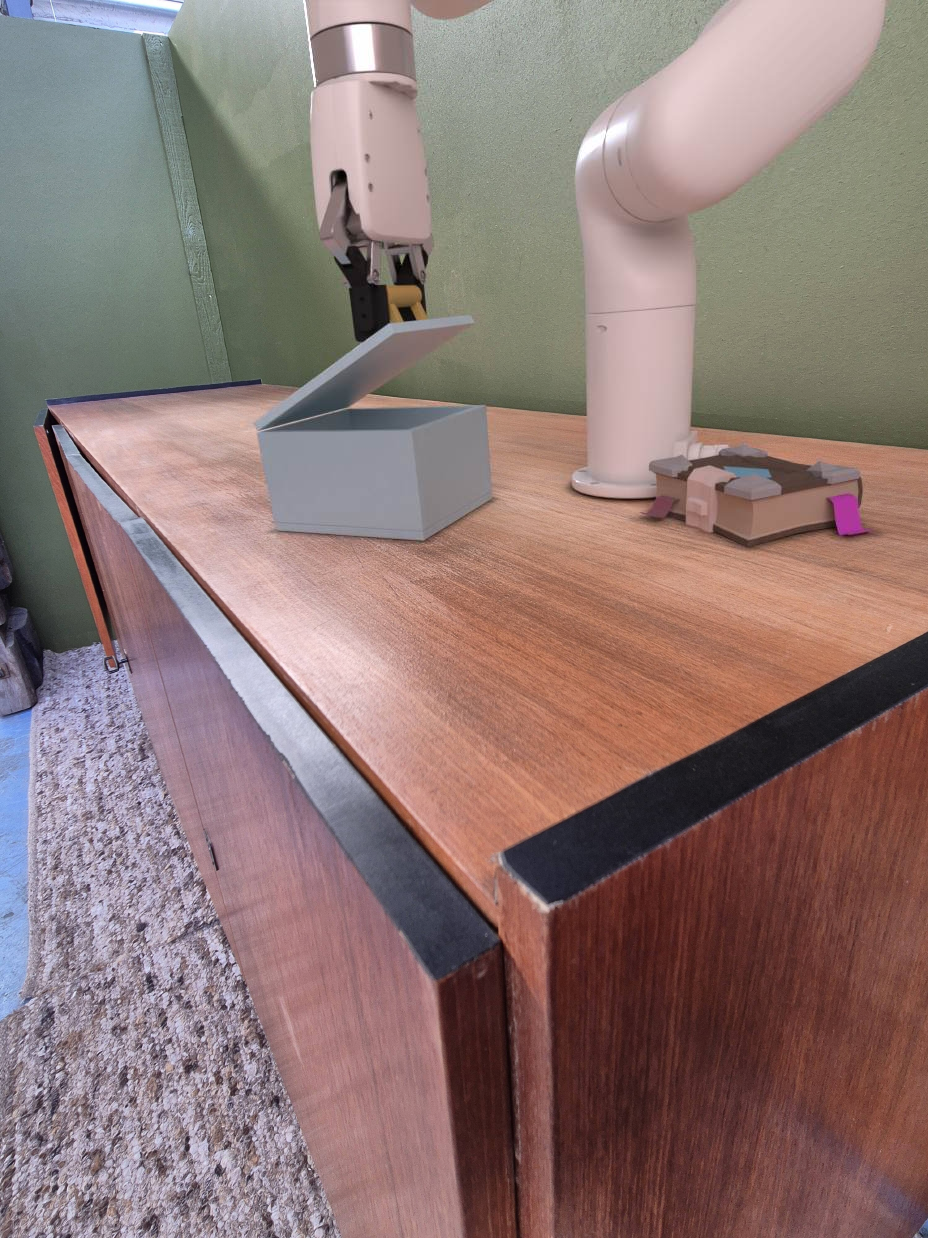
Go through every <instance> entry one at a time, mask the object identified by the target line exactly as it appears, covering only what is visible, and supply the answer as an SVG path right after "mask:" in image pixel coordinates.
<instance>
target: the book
mask: <svg viewBox="0 0 928 1238" xmlns="http://www.w3.org/2000/svg"><path fill="white" fill-rule="evenodd" d="M729 447H730V448H724V449H721V450H720V451H719V453H718V455H716V456H711V457H706V458H701V459H695V460H687V459H686V458H685V457H684V456H683V455H680V456H677V457H672V458H666V459H660V460H654V461H651V462H650V463H649V471H652V472H653V473H655V474H656V481H657V495H656V497H655V500H654V502H653V504H652V506H651V508H650V509H649V510H648V512H645V511H640V512H639V511H638V513H639V514H642V515H645V516H649V517H654V518H661V519H662V518H665V517H668V518H671V519H675V520H680V521H684V522H685V525H687V526H691V527H695V528H698V529H701V530H703V531H704V532H706V533H714V532H716V533H717V534H719V535H722V536H723V537H726V538H727V539H730V540H732V541H734V542H736V543H738V544H741V545H742V546H744V547H747V548H751V547H753V546H757V545H760V544H764V543H768V542H772V541H774V540H778V539H782V538H786V537H788V536H792V535H796V534H800V533H805V532H812V531H817V530H824V529H828V528H835V527H836V530H837V533H838V535H839V536H841V537H843V536H851V535H852V536H853V535H856V534H862V533H866V532H872V531H874V530H873V529H870V528H868V529H863V524H862V522H861V517H860V507H861V505H862V500H863V492H864V488H863V479H862V477H861V471H860V469H859V468H858V467H854V466H847V465H846V466H845V465H838V464H830V463H827V462H825V461H823V460H819V461H817V462H816V463H814V464H813V465H810V464H805V463H798V462H793V461H789V460H786V459H781V458H778V457H774V456H770V455H768V452H767V451H766V450H765V449H761V448H757V447H753V446H749V445H748V444H744V443H742V444H739V445H736V446H729Z"/></svg>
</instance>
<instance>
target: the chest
mask: <svg viewBox="0 0 928 1238" xmlns="http://www.w3.org/2000/svg"><path fill="white" fill-rule="evenodd" d="M487 412H488V411H487V404H470V405H469V404H468V405H431V406H430V405H429V406H394V407H392V406H391V407H390V406H389V407H355V408H354V407H353V408H350V407H348V408H344V409H341V410H337V411H333V412H329V413H325V414H322V415H318V416H314V417H310V418H306V419H302V420H299V421H295V422H291V423H287V424H283V425H279V426H276V427H272V428H268V429H264V430H260V431H257V432H256V436H257V437H256V438H257V441H258V447H259V451H260V456H261V457H260V458H261V462H262V467H263V471H264V478H265V482H266V488H267V492H268V493H267V494H268V497H269V504H270V507H271V514H272V518H273V522H274V528H275V531H279V532H293V533H306V534H307V533H308V534H321V535H337V536H350V537H365V538H379V539H392V540H406V541H420V542H421V541H422V542H424V541H426V540H428V539H429V538H430V537H433V536H434V535H435V534H437V533H439V532H441V531H442V530H444V529H445V528H448V526H450V525H452V524H454V523H456V522H457V521H458V520H460V519H462V518H463V517H465V516H466V515H468V514H470V513H472V512H473V511H474V510H476V509H478V508H480V507H481V506H483V505H485V504H486V503H488V502H489V501H491V500H492V499H493V484H492V472H491V470H492V469H491V457H490V442H489V425H488V413H487Z"/></svg>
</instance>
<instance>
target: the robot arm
mask: <svg viewBox="0 0 928 1238" xmlns="http://www.w3.org/2000/svg"><path fill="white" fill-rule="evenodd" d="M493 1H495V0H303V6H304V13H305V20H306V26H307V36H308V44H309V52H310V61H311V68H312V75H313V83H314V89H313V90H312V91H311V100H310V119H309V120H310V123H309V124H310V125H309V127H310V130H309V131H310V155H311V170H312V171H311V172H312V183H313V192H314V194H313V195H314V203H315V211H316V212H315V213H316V219H317V226H318V232H319V233H318V234H319V235H318V236H319V239H320V241H321V242H322V244H323V245H324V246H325V247H326V249H327V250H328V252H329V253H330V254H331V256H332V257H333V258H334V262H335V264H336V265H337V267H338V268H339V270H340V271H341V272H342V283H343V285H344V286H345V288H347V289H348V293H349V303H350V310H351V311H350V312H351V318H352V319H351V320H352V325H353V335H354V339H355V341H356V342H358V343H363V342H364V341H366V340H367V339H368V338H370V337H371V336H372V335H374V334H375V333H377V332H378V331H379V330H381V329H382V328H383V327H385V326H386V325H387V324H389V323H391V320H390V316H389V307H388V297H387V288H386V286H387V284H380V283H381V278H382V277H381V274H382V252H383V251H382V250H384V252H385V257H386V261H387V264H388V268H389V272H390V277H391V280H392V285H393V286H402V285H415V286H417V287H418V288H419V289H420V290H421V293H422V299H421V302H420V303H421V305H422V307H423V309H424V311H425V313H426V315H427V316H428V314H427V313H428V311H427V302H426V301H427V300H426V291H425V290H426V289H425V284H426V283H427V279H428V278H427V277H428V276H427V270H426V269H427V266H428V263H429V257H430V255H431V253H432V251H433V249H434V246H435V239H434V235H433V234H432V212H431V197H430V188H429V179H428V170H427V162H426V156H425V149H424V143H423V136H422V129H421V124H420V118H419V114H418V109H417V104H416V101H415V99H416V98H417V97H418V93H419V92H418V83H417V82H418V81H417V71H416V69H417V68H416V58H415V57H416V56H415V45H414V32H413V21H412V20H413V19H412V9H411V6H412V7H413V8H415V10H417V11H418V12H419V13H421V14H422V15H424V16H426V17H428V18H432V19H434V20H441V21H447V20H449V21H450V20H455V19H458V18H461V17H464V16H467V15H469V14H471V13H473V12H475V11H477V10H479V9H481V8H482V7H484V6H486V5H488V4H490V3H492V2H493ZM889 2H890V0H728V1H726V2H725V3H724V4H723V5H722V6H721V7H720V8H719V9H718V10H717V12H715V14H714V15H713V16H712V18H710V19H709V21H708V22H707V23H706V24H705V26H704V27H703V29H702V30H701V32H700V34H699V35H698V37H697V38H696V40H695V42H694V43H692V44H691V45H690V46H689V47H688V48H687V49H686V50H685V51H683V52H682V53H681V54H680V55H679V56H678V57H677V58H675V59H674V60H672V61H670V63H669V64H668V65H666V66H665V67H664V68H662V69H661V70H659V71H658V72H656V73H655V74H654V75H652V76H651V77H648V79H646V80H645V81H643V82H642V83H640V84H638V85H637V86H635V87H634V88H632V89H631V90H629V91H627V92H626V93H625V94H623V95H622V96H621V97H619V98H618V99H616V100H615V101H614V102H612V103H611V104H610V105H608V106H607V107H606V108H605V109H604V110H603V111H602V112H601V113H600V114H599V115H598V116H597V117H596V119H594V121H593V123H591V125H590V127H589V128H588V130H587V132H586V134H585V135H584V137H583V140H582V141H581V144H580V148H579V150H578V154H577V158H576V162H575V168H574V196H575V204H576V212H577V217H578V218H577V219H578V225H579V231H580V237H581V238H580V239H581V246H582V247H581V248H582V256H583V272H584V273H583V274H584V303H585V304H584V309H585V314H584V320H585V321H584V323H585V324H584V325H585V326H584V327H585V328H584V329H585V330H584V332H585V381H586V382H585V386H586V387H585V388H586V389H585V390H586V393H585V394H586V452H587V454H586V455H587V456H586V457H587V465H586V466H583V467H581V468H579V469H578V468H577V470H575V471H574V472H573V473H572V475H571V487H572V488H573V489H574V490H575V491H577V492H579V493H581V494H585V495H588V496H593V497H598V498H606V499H607V498H608V499H623V500H624V499H628V500H629V499H630V500H631V499H633V500H634V499H635V500H637V499H652V498H656V495H657V481H656V474H655V473H653V472H652V471H649V463H650V462H651V461H654V460H660V459H666V458H672V457H677V456H680V455H683V456H684V457H685V458H686V459H687V460H695V459H701V458H706V457H711V456H716V455H718V453H719V451H720V450H721V449H724V448H730V447H731V446H730V445H729V444H714V445H711V444H710V445H709V444H706V445H704V444H703V442H702V441H701V442H700V441H699V431H698V430H691V425H692V402H693V401H692V399H693V378H694V377H693V375H694V373H693V372H694V352H695V351H694V350H695V327H696V326H695V325H696V305H697V287H698V286H697V285H698V284H697V281H698V277H697V261H696V260H697V259H696V251H695V246H694V242H693V237H692V236H693V235H692V232H691V229H690V223H689V218H688V215H690V214H694V213H697V212H699V211H703V210H706V209H708V208H711V207H712V206H716V205H717V204H719V203H721V202H722V201H724V200H725V199H727V198H729V197H730V196H731V195H733V194H734V193H737V191H738V190H739V189H741V188H742V187H743V186H744V185H746V184H747V183H748V182H750V181H751V180H753V178H754V177H756V175H758V174H760V172H761V171H762V170H763V169H764V168H767V166H768V165H769V164H770V163H772V162H773V161H774V160H775V159H776V158H778V156H780V155H781V154H782V153H783V152H784V151H785V150H787V148H789V147H790V146H791V145H792V144H793V143H795V142H796V140H797V139H798V138H800V137H801V136H802V135H803V134H804V133H805V132H806V131H808V130H809V129H810V128H811V127H812V126H813V125H814V124H815V123H817V121H819V120H820V119H821V118H822V117H823V116H824V115H825V114H826V113H828V112H829V111H830V110H831V109H832V108H833V107H834V106H835V105H836V104H838V103H839V101H841V100H842V99H843V98H844V97H845V96H846V95H847V94H848V93H849V91H850V90H851V89H852V88H853V87H854V86H855V84H856V83H857V82H858V80H859V79H860V78H861V76H862V74H863V73H864V72H865V70H866V68H867V67H868V65H869V63H870V61H871V59H872V57H873V55H874V53H875V51H876V48H877V46H878V44H879V41H880V38H881V35H882V30H883V27H884V22H885V15H886V6H887V5H888V3H889ZM364 254H366V258H365V256H364ZM400 255H404V257H403V260H402V262H401V257H400ZM397 309H398V311H399V313H400V315H401V317H402V319H403V321H404V322H408V321H417V320H416V318H415V315H414V313H413V311H412V309H411V307H410V306H409V307H397ZM698 441H699V442H698Z"/></svg>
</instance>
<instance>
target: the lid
mask: <svg viewBox="0 0 928 1238" xmlns="http://www.w3.org/2000/svg"><path fill="white" fill-rule="evenodd" d="M386 288H387V297H388V307H389V316H390V323H389V324H387V325H386V326H385V327H383V328H382V329H381V330H379V331H378V332H377V333H375V334H374V335H372V336H371V337H370V338H368V339H367V340H366V341H364V342H361V343H360V344H359V345H357V346H355V347H354V348H353V349H352V350H350V351H348V353H346V354H345V355H343V356H342V357H341V358H339V359H338V360H337V361H335V362H334V363H333V364H332V365H330V366H329V367H327V368H326V369H324V370H323V371H322V372H321V373H319V374H318V375H316V376H315V377H313V378H312V379H311V380H309V381H308V382H307V383H305V384H304V385H302V387H300V388H299V389H297V390H296V391H295V392H293V393H292V394H291V395H289V396H288V397H286V398H285V399H284V400H282V401H281V402H279V403H278V404H277V405H275V406H274V407H273V408H271V409H270V410H268V411H267V412H266V413H265V414H263V415H262V416H260V417H259V418H258V419H256V420H255V421H254V422H253V425H254V428H255V429H256V431H257V432H260V431H264V430H268V429H272V428H276V427H279V426H283V425H287V424H291V423H295V422H298V421H302V420H306V419H310V418H314V417H317V416H321V415H325V414H329V413H333V412H336V411H340V410H344V409H349V408H350V407H352V406H353V405H355V404H356V403H357V402H360V401H361V400H362V399H364V398H365V397H367V396H368V395H369V394H371V393H373V392H374V391H376V390H377V389H379V388H380V387H382V386H383V385H384V384H386V383H388V382H389V381H391V380H392V379H395V377H397V376H398V375H399V374H401V373H403V372H405V370H407V369H409V368H410V367H412V366H414V364H417V363H418V362H419V361H421V360H422V359H424V358H425V357H426V356H428V355H429V354H431V353H433V352H435V350H437V349H439V348H440V347H441V346H443V345H444V344H446V343H448V342H449V341H451V340H452V339H453V338H456V337H457V336H458V335H459V334H461V333H462V332H464V331H466V330H467V329H468V328H470V327H471V326H473V325H475V321H474V319H473V316H472V315H471V314H466V315H456V316H448V317H439V318H429V317H428V314H427V315H426V313H425V311H424V309H423V307H422V305H421V303H420V302H421V299H422V293H421V290H420V289H419V288H418V287H417V286H415V285H402V286H394V285H386ZM409 306H410V307H411V309H412V311H413V313H414V315H415V318H416V320H417V321H408V322H404V321H403V319H402V317H401V315H400V313H399V311H398V309H397V307H409Z"/></svg>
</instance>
